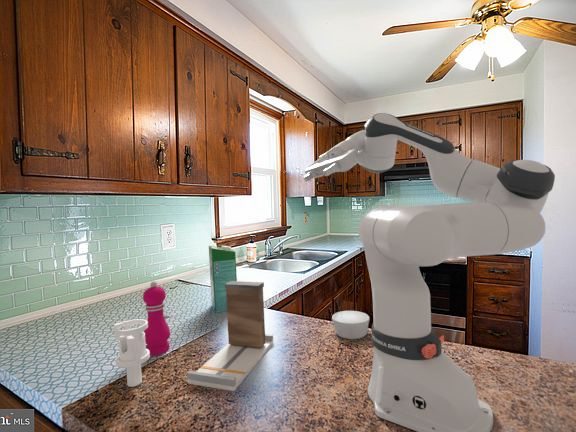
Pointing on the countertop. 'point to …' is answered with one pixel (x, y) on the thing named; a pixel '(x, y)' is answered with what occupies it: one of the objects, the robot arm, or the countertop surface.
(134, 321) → the white cylindrical cage holder
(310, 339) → the countertop surface
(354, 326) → the ramekin
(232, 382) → the slide board
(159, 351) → the pepper mill
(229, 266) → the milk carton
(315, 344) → the countertop surface
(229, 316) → the block
